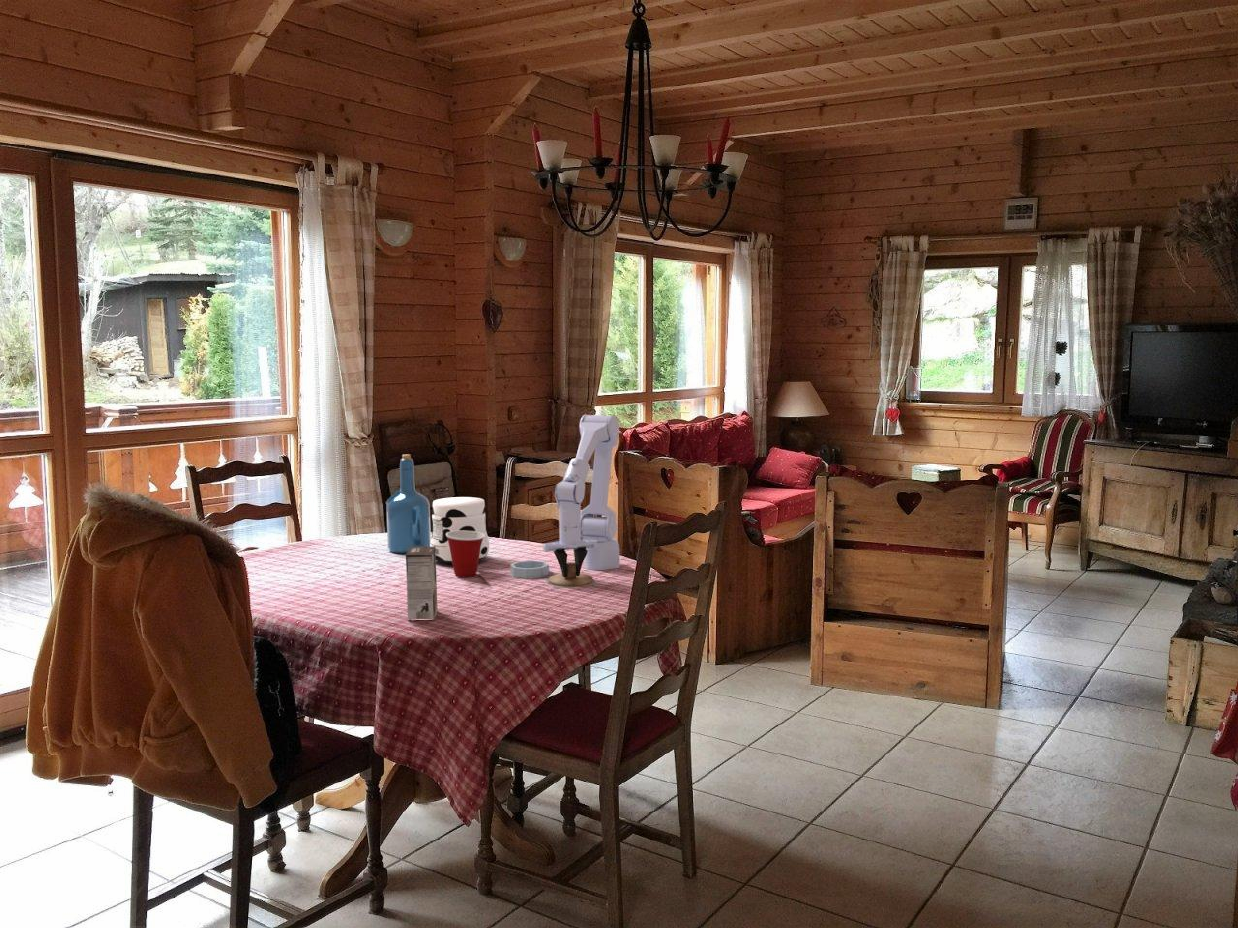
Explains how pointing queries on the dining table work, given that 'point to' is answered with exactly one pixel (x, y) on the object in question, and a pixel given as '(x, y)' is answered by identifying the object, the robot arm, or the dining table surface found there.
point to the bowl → (529, 569)
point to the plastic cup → (465, 551)
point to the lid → (570, 577)
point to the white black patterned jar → (457, 523)
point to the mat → (571, 586)
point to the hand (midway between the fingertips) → (570, 576)
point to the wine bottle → (407, 513)
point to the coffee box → (421, 582)
